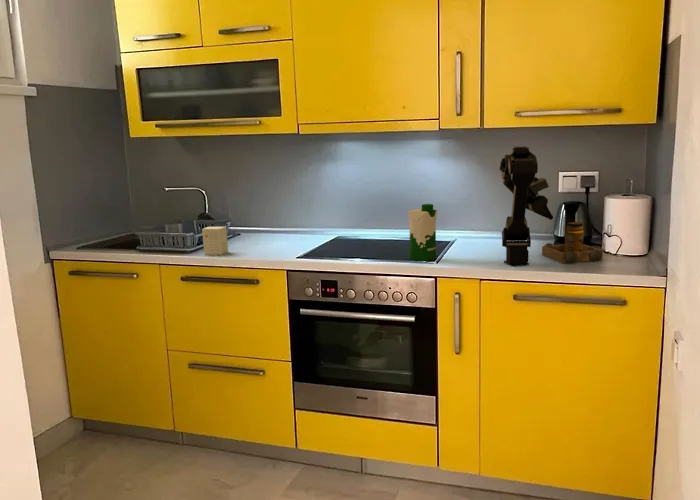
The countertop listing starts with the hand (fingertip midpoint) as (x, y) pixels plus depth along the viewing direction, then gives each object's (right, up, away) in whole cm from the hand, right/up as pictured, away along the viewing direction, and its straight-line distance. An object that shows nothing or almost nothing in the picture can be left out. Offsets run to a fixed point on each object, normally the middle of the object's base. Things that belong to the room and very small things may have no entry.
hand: (548, 216), depth 224 cm
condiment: (+6, -14, -5) cm, 17 cm away
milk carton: (-45, -16, 0) cm, 48 cm away
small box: (-125, -14, +24) cm, 128 cm away
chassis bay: (+7, -15, -5) cm, 17 cm away
